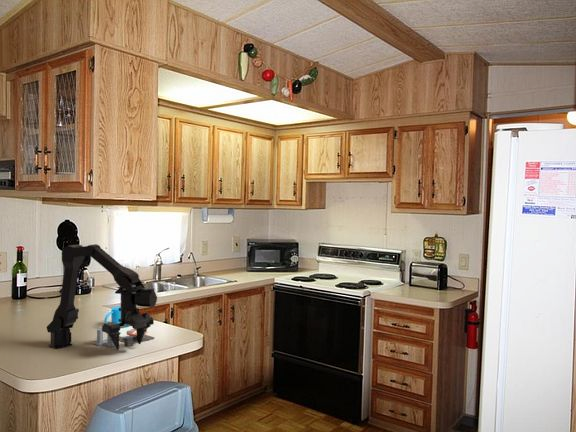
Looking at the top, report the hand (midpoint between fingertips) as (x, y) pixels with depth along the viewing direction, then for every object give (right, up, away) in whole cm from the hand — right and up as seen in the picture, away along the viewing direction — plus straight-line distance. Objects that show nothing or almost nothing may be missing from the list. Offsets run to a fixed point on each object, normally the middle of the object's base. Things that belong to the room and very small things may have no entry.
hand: (128, 346), depth 183 cm
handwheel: (-2, 0, +16) cm, 17 cm away
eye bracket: (-11, -2, +9) cm, 15 cm away
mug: (-17, -1, +36) cm, 39 cm away
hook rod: (-4, 0, +3) cm, 6 cm away
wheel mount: (-2, -1, +17) cm, 17 cm away
